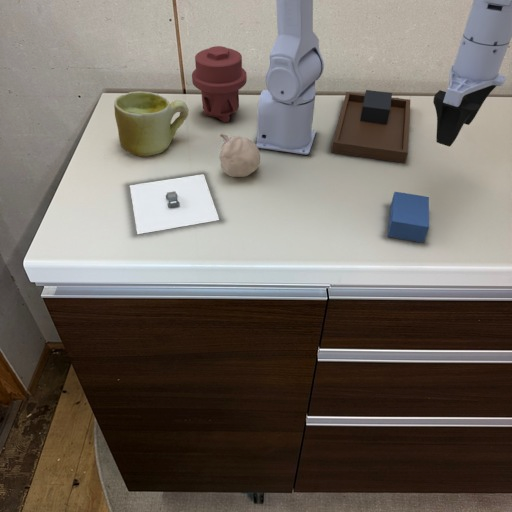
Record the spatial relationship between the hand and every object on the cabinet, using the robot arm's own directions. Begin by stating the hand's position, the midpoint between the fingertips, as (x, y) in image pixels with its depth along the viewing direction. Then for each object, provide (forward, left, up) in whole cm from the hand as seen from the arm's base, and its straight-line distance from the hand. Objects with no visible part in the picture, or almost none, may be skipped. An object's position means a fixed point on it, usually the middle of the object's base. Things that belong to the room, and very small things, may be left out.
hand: (453, 132), depth 70 cm
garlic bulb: (-31, -5, -10) cm, 33 cm away
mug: (-48, 0, -10) cm, 49 cm away
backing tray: (-11, +15, -10) cm, 21 cm away
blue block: (-4, -11, -10) cm, 15 cm away
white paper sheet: (-39, -15, -10) cm, 43 cm away
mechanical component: (-40, +13, -10) cm, 43 cm away
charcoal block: (-11, +20, -9) cm, 24 cm away
